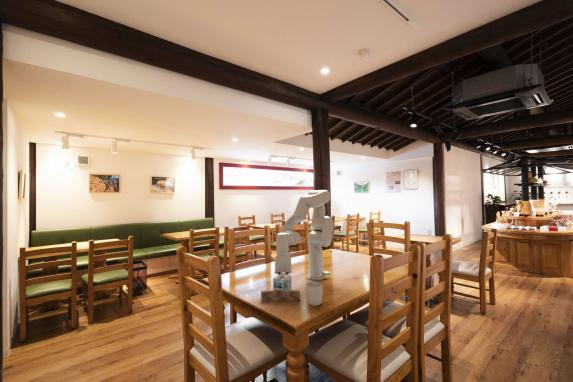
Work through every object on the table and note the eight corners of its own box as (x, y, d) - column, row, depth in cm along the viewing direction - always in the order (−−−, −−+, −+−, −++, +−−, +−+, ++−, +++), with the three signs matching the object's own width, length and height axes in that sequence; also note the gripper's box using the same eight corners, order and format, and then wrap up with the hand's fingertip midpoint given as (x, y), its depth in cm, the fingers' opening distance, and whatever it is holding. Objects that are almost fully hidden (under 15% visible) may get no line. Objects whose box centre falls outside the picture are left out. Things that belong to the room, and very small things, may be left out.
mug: (320, 307, 135) (319, 288, 135) (303, 305, 139) (303, 286, 139) (327, 298, 147) (326, 280, 147) (311, 296, 150) (310, 278, 150)
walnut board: (299, 299, 146) (299, 290, 147) (299, 301, 144) (299, 291, 144) (261, 299, 148) (261, 290, 148) (261, 301, 146) (260, 291, 146)
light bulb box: (283, 299, 147) (282, 280, 147) (272, 297, 150) (272, 278, 150) (292, 293, 156) (291, 274, 157) (282, 291, 160) (281, 273, 160)
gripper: (295, 251, 168) (295, 280, 168) (271, 251, 169) (272, 280, 169) (294, 254, 161) (295, 284, 161) (269, 254, 162) (270, 285, 162)
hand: (283, 282), depth 165 cm, fingers closed
